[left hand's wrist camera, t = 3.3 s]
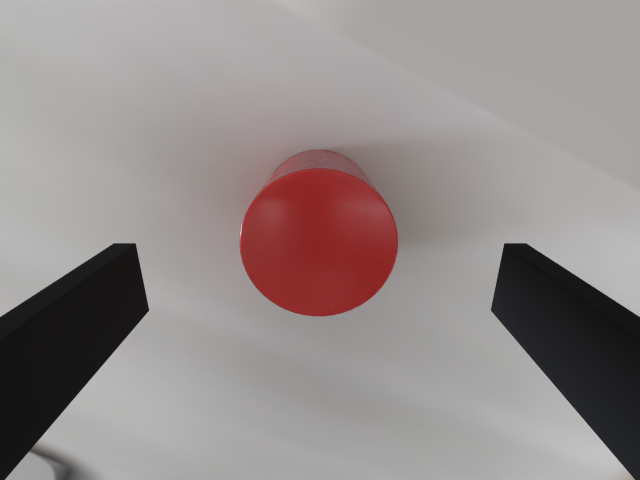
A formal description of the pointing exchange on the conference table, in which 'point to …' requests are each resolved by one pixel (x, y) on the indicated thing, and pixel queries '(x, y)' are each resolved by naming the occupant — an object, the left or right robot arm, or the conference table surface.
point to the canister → (318, 236)
